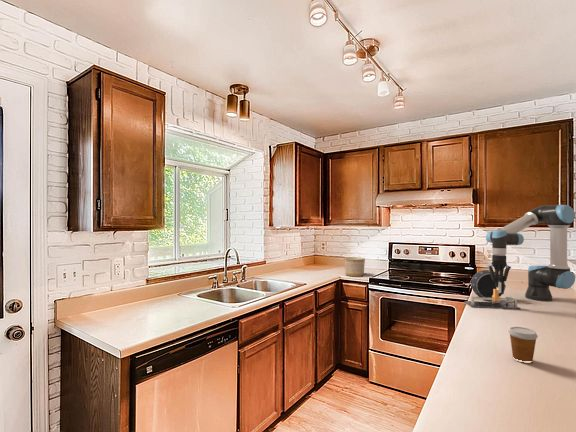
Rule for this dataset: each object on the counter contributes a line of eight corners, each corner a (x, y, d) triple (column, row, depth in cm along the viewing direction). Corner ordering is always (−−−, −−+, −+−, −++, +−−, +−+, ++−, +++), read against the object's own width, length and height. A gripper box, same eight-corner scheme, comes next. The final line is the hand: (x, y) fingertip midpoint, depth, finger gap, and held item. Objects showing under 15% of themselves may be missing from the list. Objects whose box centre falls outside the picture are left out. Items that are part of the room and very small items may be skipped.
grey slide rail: (513, 306, 211) (513, 296, 211) (517, 308, 206) (517, 298, 206) (469, 304, 215) (469, 294, 215) (472, 307, 210) (472, 296, 210)
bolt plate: (510, 304, 217) (510, 302, 217) (520, 309, 205) (520, 307, 205) (464, 302, 221) (464, 300, 221) (471, 307, 209) (471, 305, 209)
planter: (352, 272, 332) (352, 256, 332) (368, 275, 318) (368, 258, 318) (340, 275, 319) (340, 258, 319) (356, 278, 305) (356, 260, 305)
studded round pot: (507, 302, 222) (507, 272, 222) (474, 300, 226) (474, 271, 226) (500, 298, 233) (500, 269, 233) (469, 296, 237) (469, 268, 237)
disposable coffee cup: (502, 355, 137) (502, 326, 137) (524, 355, 138) (524, 326, 138) (520, 366, 128) (520, 335, 128) (543, 365, 128) (544, 334, 128)
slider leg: (495, 303, 213) (495, 288, 213) (499, 306, 207) (499, 290, 207) (490, 303, 213) (490, 288, 213) (494, 306, 208) (494, 289, 208)
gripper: (507, 254, 211) (507, 291, 212) (485, 253, 213) (485, 290, 213) (513, 255, 204) (513, 294, 204) (490, 255, 206) (490, 293, 206)
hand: (498, 292), depth 209 cm, fingers closed
